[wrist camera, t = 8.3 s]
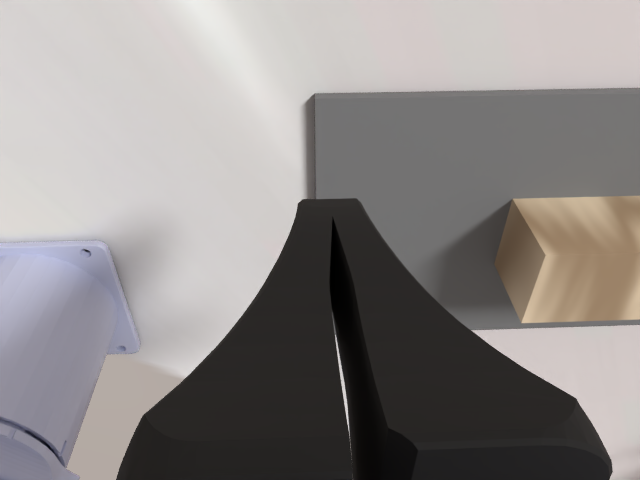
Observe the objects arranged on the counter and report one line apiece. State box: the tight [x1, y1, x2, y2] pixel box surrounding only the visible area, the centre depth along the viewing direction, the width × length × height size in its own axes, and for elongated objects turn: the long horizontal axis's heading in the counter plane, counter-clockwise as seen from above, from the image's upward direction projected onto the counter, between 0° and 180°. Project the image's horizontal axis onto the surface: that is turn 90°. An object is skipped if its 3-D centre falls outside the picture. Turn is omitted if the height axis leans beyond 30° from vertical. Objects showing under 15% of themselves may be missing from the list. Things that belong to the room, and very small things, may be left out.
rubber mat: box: [315, 88, 640, 334], centre depth 25 cm, size 22×14×1 cm, turn 90°
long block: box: [494, 196, 640, 323], centre depth 24 cm, size 4×4×10 cm
